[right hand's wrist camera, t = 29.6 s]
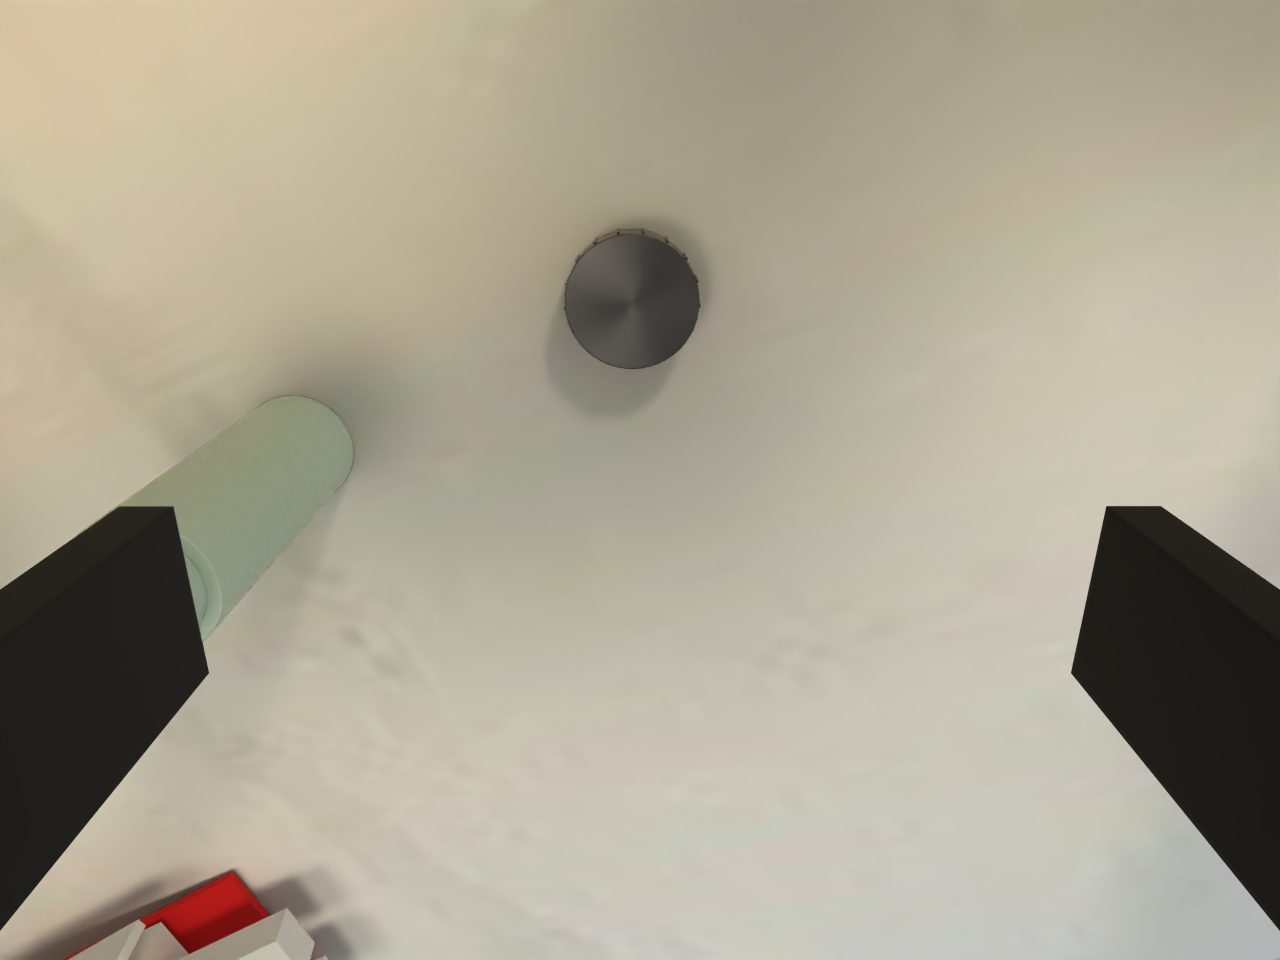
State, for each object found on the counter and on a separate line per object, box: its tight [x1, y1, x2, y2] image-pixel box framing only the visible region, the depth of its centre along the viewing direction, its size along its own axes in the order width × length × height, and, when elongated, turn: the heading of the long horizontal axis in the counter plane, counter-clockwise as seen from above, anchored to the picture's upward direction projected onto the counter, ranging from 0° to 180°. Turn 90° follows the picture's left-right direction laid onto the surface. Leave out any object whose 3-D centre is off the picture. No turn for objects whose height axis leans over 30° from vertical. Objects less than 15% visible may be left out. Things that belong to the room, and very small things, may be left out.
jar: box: [77, 396, 354, 642], centre depth 32 cm, size 5×5×15 cm
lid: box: [564, 228, 700, 369], centre depth 35 cm, size 6×6×2 cm
